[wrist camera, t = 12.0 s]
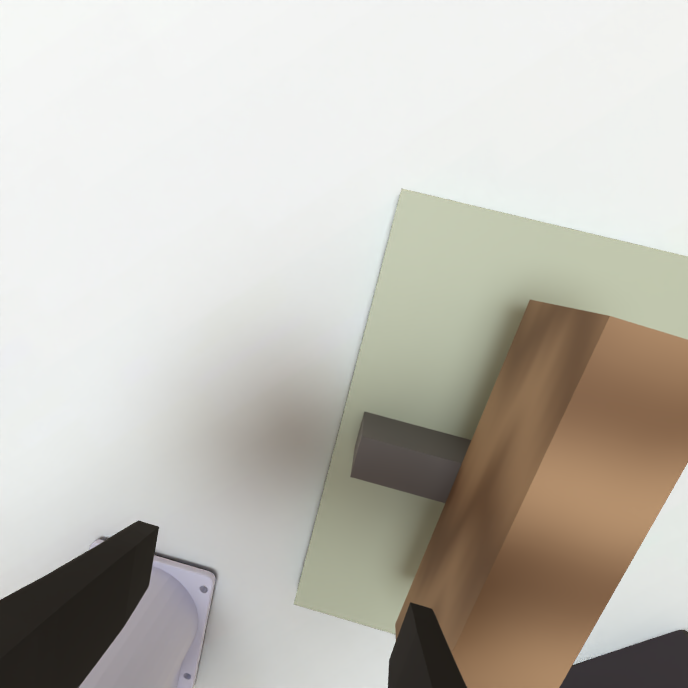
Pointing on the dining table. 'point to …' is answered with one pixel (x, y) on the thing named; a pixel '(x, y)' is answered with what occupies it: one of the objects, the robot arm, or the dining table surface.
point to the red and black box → (636, 666)
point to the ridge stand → (450, 378)
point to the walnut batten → (554, 493)
